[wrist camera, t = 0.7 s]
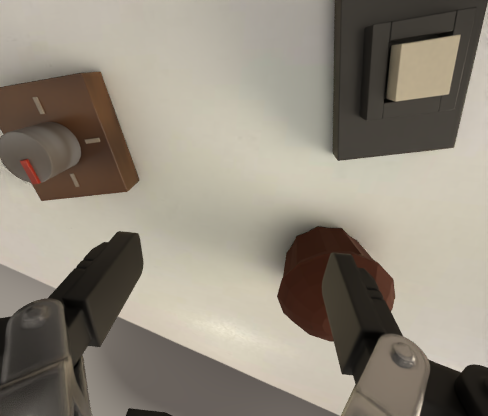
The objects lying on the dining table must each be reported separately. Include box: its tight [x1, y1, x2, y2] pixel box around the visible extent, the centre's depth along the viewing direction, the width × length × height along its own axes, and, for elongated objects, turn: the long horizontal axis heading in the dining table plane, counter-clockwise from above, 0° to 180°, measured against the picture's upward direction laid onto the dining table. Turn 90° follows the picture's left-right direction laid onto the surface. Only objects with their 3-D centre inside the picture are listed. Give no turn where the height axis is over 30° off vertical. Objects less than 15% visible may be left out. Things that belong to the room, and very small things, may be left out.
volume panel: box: [0, 72, 139, 201], centre depth 27 cm, size 11×10×3 cm
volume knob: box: [0, 122, 81, 184], centre depth 23 cm, size 4×4×4 cm
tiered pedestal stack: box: [333, 0, 488, 161], centre depth 21 cm, size 14×10×4 cm
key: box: [386, 35, 461, 102], centre depth 19 cm, size 4×4×2 cm
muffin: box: [277, 226, 395, 341], centre depth 29 cm, size 12×11×10 cm
